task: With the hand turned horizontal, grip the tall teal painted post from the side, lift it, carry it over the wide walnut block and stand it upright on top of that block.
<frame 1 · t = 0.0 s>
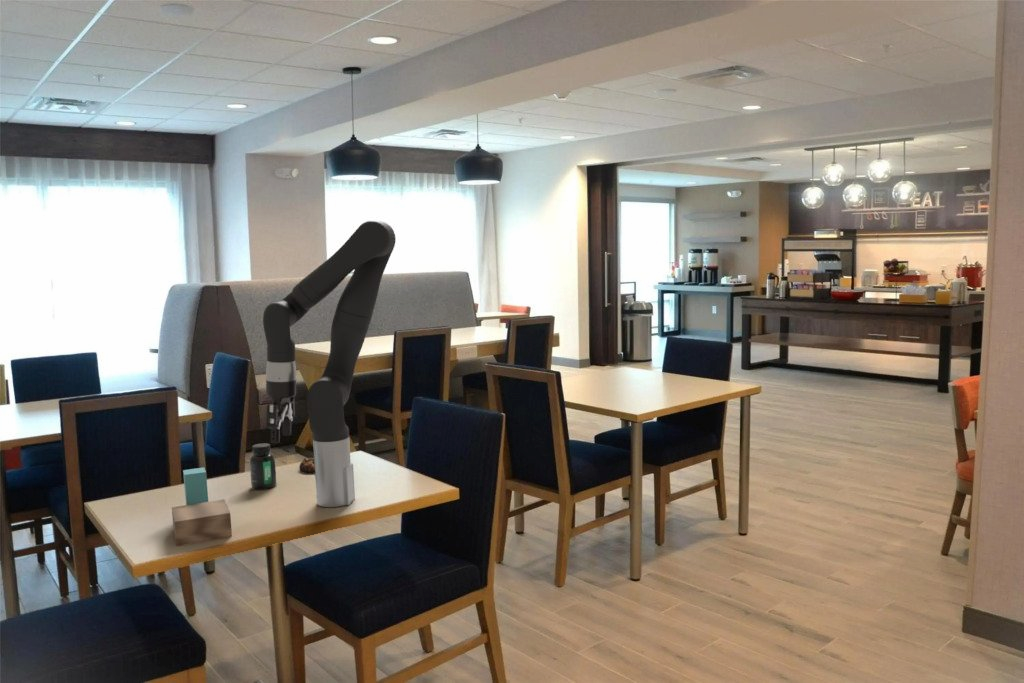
hand: (281, 439, 210), 17 cm above the table, fingers open, 8 cm apart
teal post: (198, 517, 203), on the table
bread roll: (318, 470, 245), on the table
supplement bottle: (264, 487, 228), on the table
walnut block: (202, 534, 191), on the table
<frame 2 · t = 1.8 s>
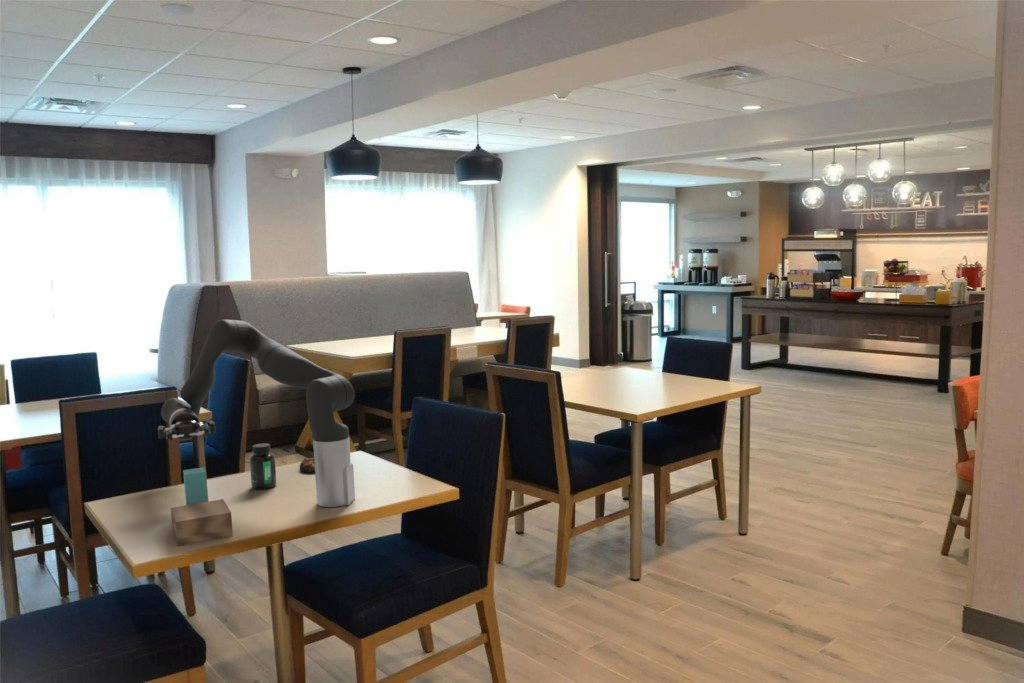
hand: (188, 434, 211), 19 cm above the table, fingers open, 8 cm apart
nothing on the table moved.
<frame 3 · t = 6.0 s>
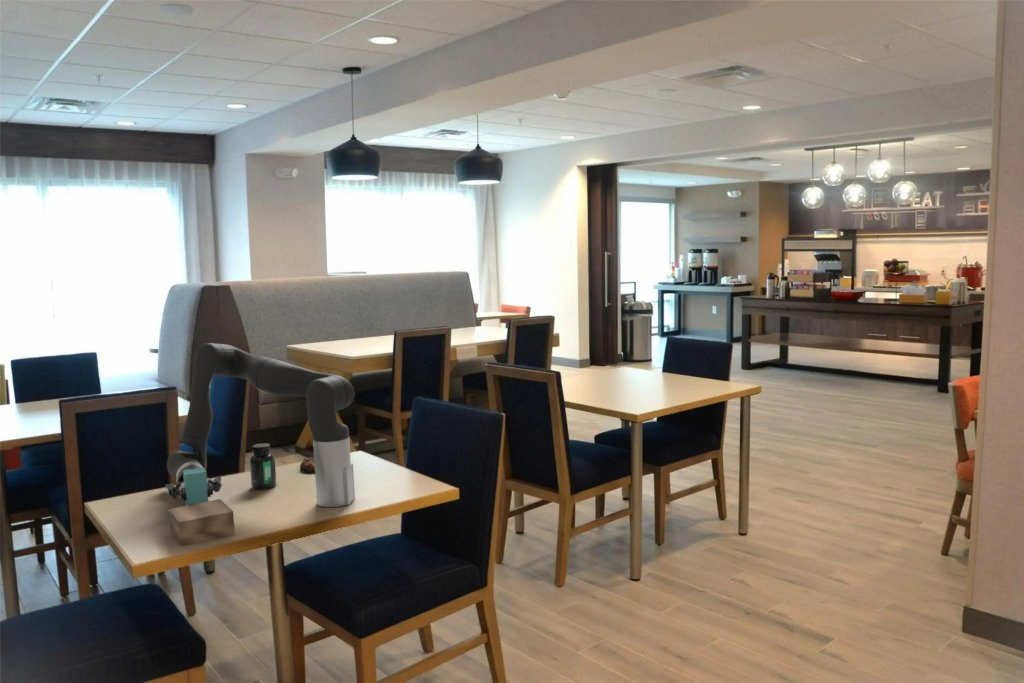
hand: (197, 494, 200), 7 cm above the table, fingers closed on teal post, 5 cm apart
teal post: (198, 517, 203), on the table, touching gripper
everything else where it was.
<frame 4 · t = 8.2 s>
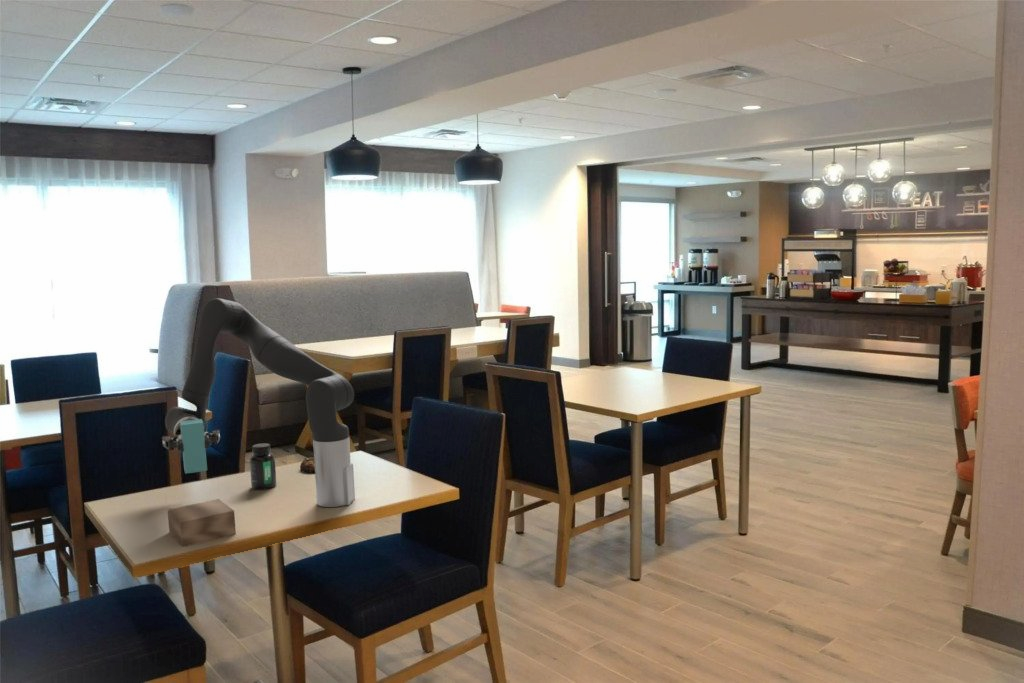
hand: (194, 445, 195), 20 cm above the table, fingers closed on teal post, 5 cm apart
teal post: (195, 469, 198), point 13 cm above the table, touching gripper
everything else where it was.
when the fingers open (14 cm above the table, at t = 10.6 s): teal post drops 2 cm, point 6 cm above the table.
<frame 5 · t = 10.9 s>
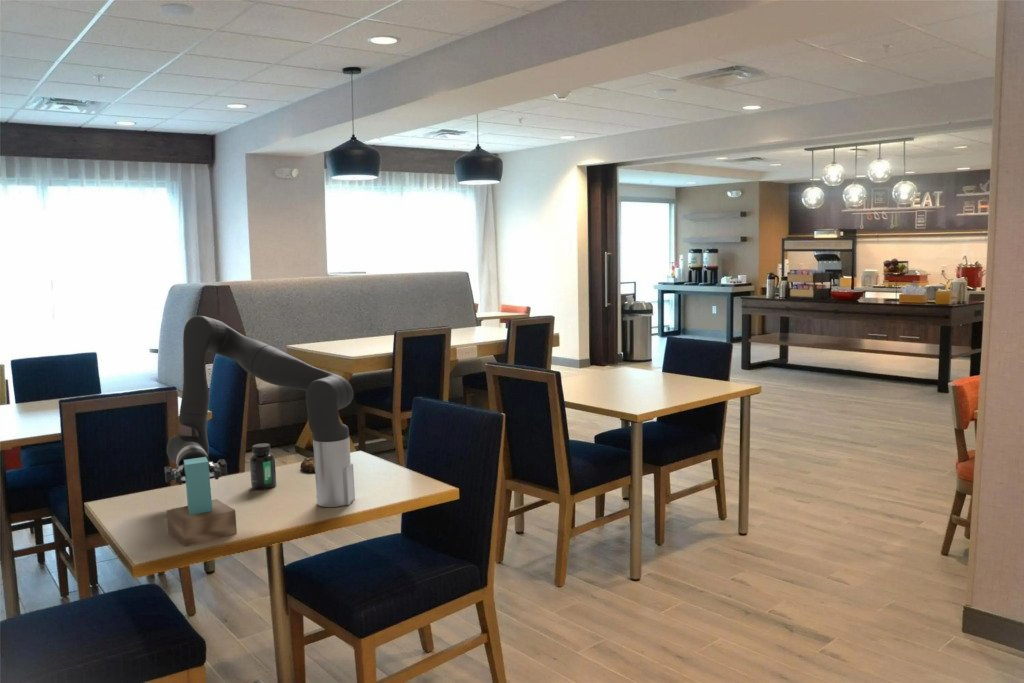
hand: (198, 477, 187), 14 cm above the table, fingers open, 7 cm apart
teal post: (200, 510, 190), point 6 cm above the table
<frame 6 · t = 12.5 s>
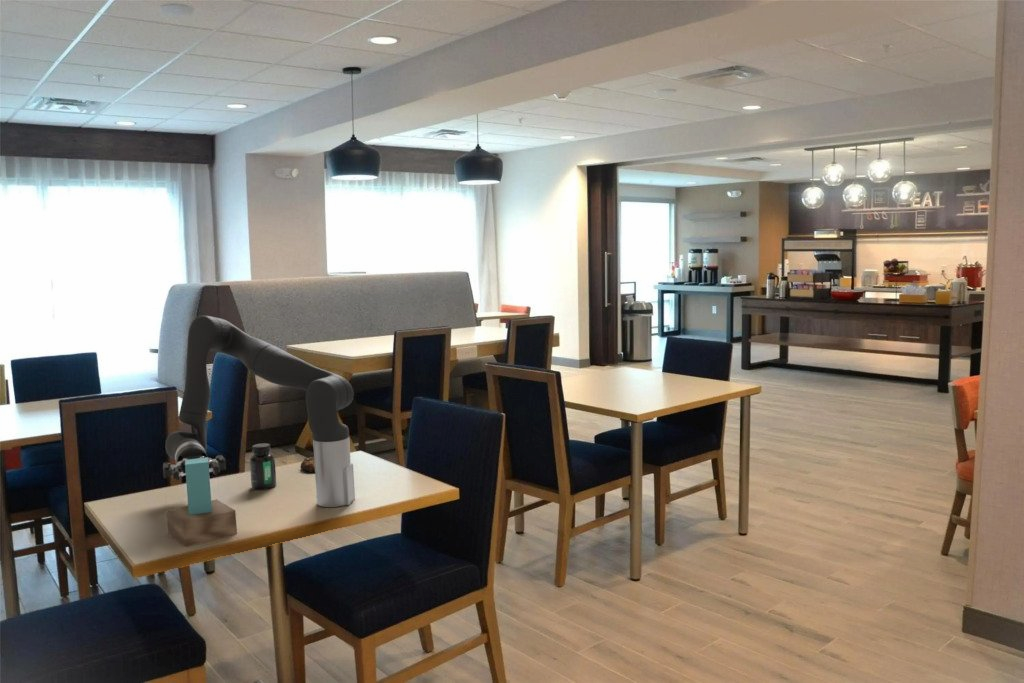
hand: (196, 473, 192), 14 cm above the table, fingers open, 8 cm apart
teal post: (200, 510, 190), point 6 cm above the table, touching walnut block
walnut block: (202, 534, 191), on the table, touching teal post
everything else where it was.
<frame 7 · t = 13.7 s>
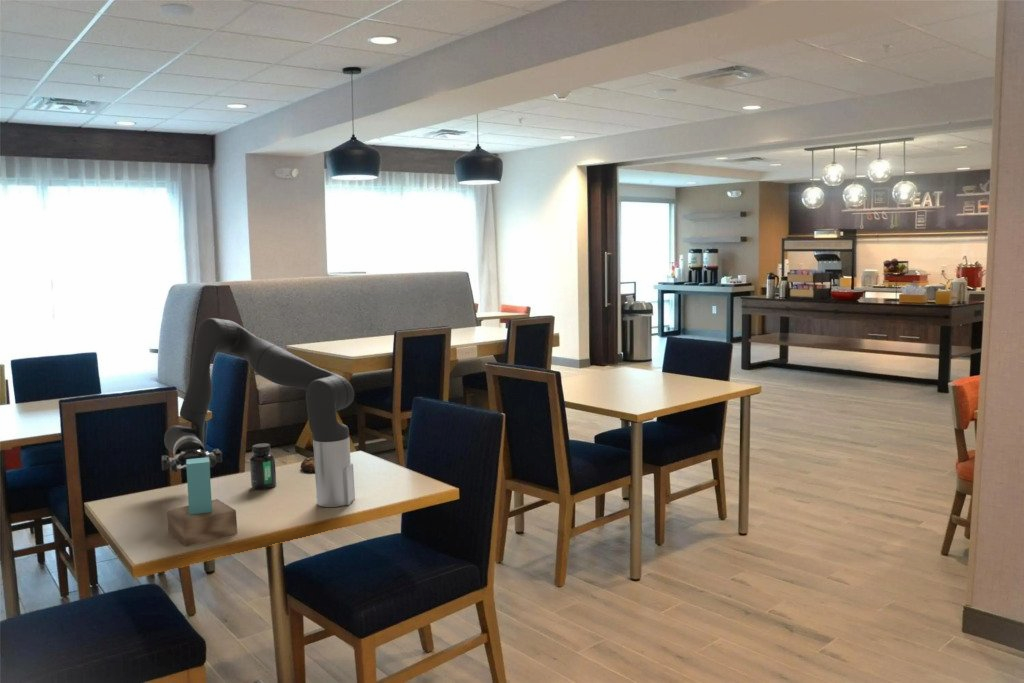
hand: (194, 465, 199), 14 cm above the table, fingers open, 8 cm apart
nothing on the table moved.
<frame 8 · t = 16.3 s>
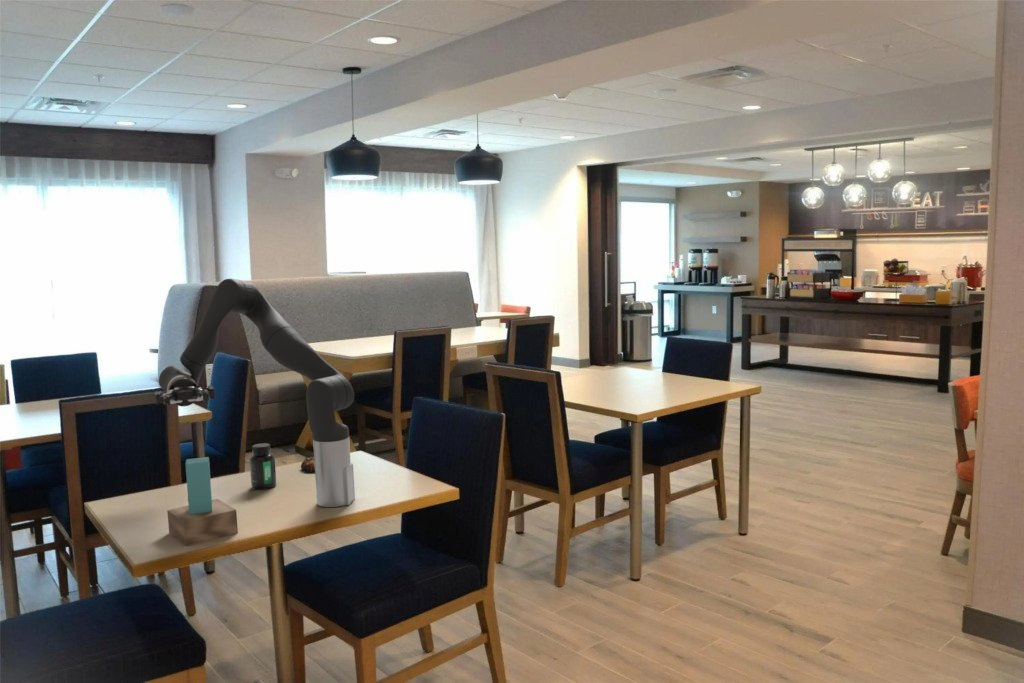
hand: (187, 399, 201), 30 cm above the table, fingers open, 8 cm apart
nothing on the table moved.
at the end: teal post 0.1 cm off-centre on the walnut block, point 6.0 cm above the walnut block's base; teal post tilted 1°; teal post touching walnut block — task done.
